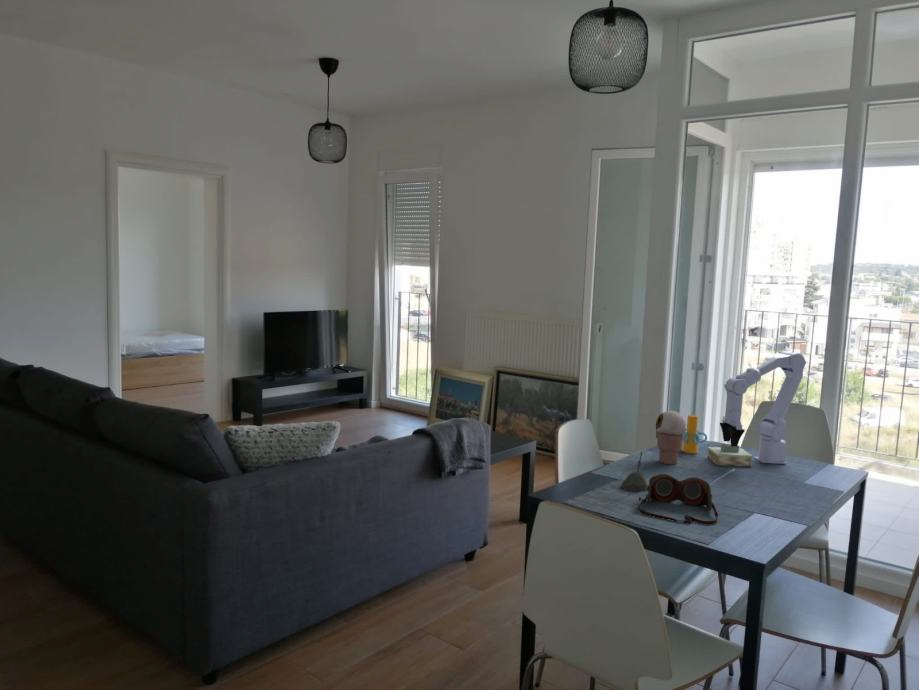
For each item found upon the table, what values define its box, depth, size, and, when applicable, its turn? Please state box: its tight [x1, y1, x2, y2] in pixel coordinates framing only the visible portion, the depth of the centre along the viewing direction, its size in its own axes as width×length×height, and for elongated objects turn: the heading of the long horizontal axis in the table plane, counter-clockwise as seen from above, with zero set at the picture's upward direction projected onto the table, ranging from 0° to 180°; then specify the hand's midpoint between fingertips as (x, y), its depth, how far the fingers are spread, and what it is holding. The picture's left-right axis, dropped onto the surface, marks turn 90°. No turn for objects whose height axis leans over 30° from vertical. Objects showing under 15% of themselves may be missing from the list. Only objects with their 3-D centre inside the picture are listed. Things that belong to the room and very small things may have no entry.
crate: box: [707, 449, 752, 467], centre depth 277 cm, size 13×10×4 cm
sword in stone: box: [619, 451, 648, 493], centre depth 239 cm, size 10×8×12 cm
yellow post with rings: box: [681, 414, 708, 454], centre depth 289 cm, size 12×10×15 cm
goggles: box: [637, 473, 719, 525], centre depth 219 cm, size 24×24×10 cm
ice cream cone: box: [655, 410, 687, 465], centre depth 272 cm, size 11×11×20 cm
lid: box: [707, 443, 753, 459], centre depth 277 cm, size 13×10×4 cm
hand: (730, 443), depth 276 cm, fingers open, 7 cm apart
